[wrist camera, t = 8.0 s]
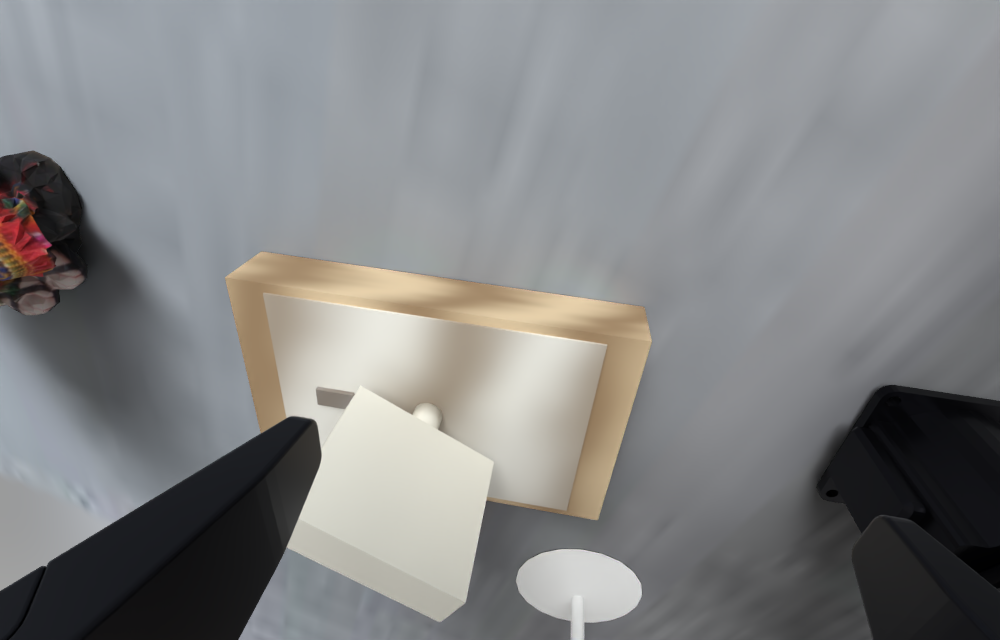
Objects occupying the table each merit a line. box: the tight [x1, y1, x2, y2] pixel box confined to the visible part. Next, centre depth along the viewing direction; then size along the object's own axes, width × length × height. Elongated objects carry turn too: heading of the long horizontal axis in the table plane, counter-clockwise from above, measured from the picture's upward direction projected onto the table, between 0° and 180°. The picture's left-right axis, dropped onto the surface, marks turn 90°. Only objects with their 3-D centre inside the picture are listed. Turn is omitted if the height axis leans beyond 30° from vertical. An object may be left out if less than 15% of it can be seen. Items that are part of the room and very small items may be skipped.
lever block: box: [225, 252, 652, 520], centre depth 22 cm, size 16×10×3 cm, turn 84°
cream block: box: [287, 386, 494, 622], centre depth 19 cm, size 6×6×7 cm
